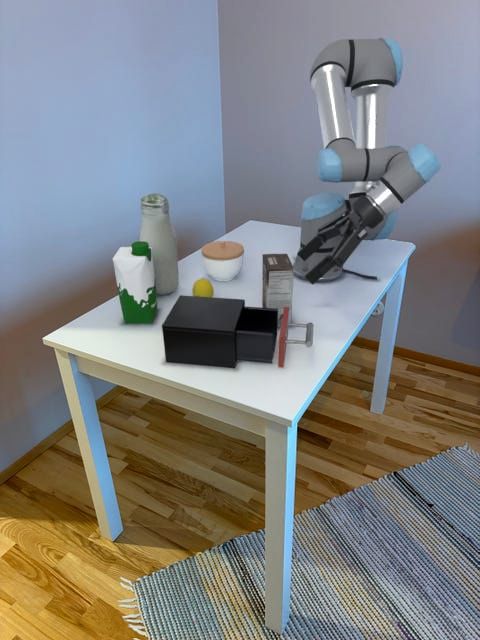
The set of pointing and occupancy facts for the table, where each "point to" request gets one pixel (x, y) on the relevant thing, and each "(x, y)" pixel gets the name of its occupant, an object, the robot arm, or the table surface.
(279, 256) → the coffee box
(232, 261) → the lidded bowl
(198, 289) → the lemon
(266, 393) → the table surface
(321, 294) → the table surface
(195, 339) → the cabinet
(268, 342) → the drawer
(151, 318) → the milk carton
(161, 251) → the glass bottle
